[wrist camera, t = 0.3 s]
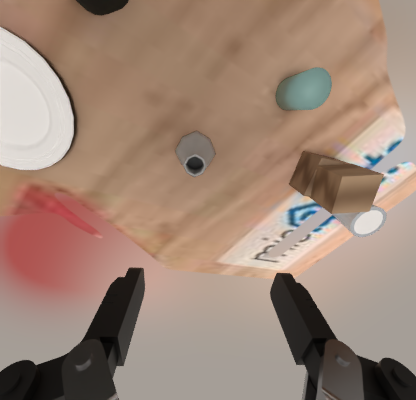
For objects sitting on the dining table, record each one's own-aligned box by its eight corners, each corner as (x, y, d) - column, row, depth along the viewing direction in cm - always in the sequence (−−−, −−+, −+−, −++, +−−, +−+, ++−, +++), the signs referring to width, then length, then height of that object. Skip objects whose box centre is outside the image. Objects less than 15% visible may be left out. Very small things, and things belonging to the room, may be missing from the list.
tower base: (303, 151, 36) (321, 157, 31) (334, 158, 37) (357, 166, 32) (288, 184, 39) (303, 195, 34) (318, 190, 40) (337, 202, 35)
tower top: (317, 165, 31) (342, 176, 26) (351, 163, 31) (383, 174, 26) (310, 197, 34) (331, 213, 28) (342, 195, 34) (369, 211, 29)
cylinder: (282, 73, 30) (304, 62, 24) (309, 81, 31) (338, 73, 25) (271, 106, 32) (289, 105, 26) (297, 113, 33) (321, 113, 27)
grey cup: (321, 210, 42) (343, 227, 36) (345, 186, 40) (373, 200, 34) (340, 223, 44) (364, 242, 38) (364, 201, 42) (394, 217, 36)
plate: (100, 95, 31) (95, 94, 29) (53, 188, 37) (46, 192, 35) (-51, -19, 24) (-70, -29, 23) (-76, 116, 31) (-93, 117, 29)
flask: (222, 153, 36) (230, 168, 27) (194, 177, 37) (193, 198, 28) (197, 123, 33) (197, 127, 24) (168, 150, 35) (158, 163, 26)
